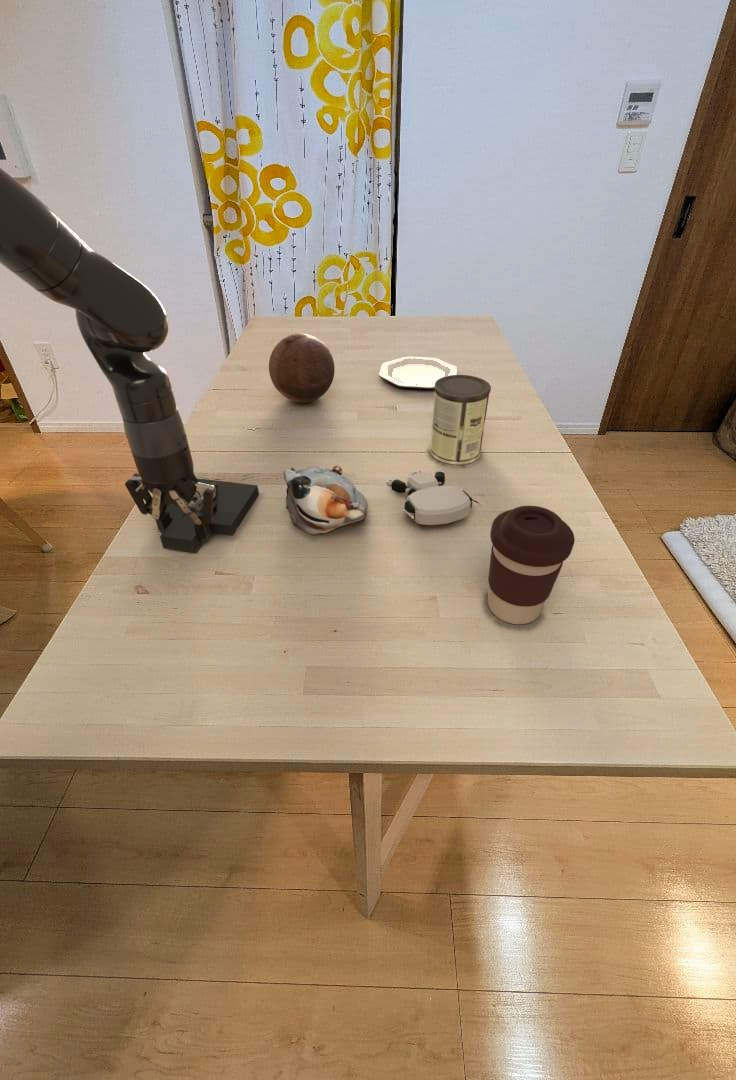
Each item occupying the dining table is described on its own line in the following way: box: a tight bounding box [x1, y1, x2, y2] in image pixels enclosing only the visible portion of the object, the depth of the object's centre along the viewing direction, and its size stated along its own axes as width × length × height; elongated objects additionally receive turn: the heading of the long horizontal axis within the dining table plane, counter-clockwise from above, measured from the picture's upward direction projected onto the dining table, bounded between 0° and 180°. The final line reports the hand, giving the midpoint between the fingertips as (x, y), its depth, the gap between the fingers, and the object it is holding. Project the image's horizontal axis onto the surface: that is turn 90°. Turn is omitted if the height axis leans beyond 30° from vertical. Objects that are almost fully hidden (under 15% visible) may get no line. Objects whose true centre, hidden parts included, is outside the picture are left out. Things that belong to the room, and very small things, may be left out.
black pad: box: [159, 510, 203, 553], centre depth 83 cm, size 5×8×2 cm, turn 169°
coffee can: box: [429, 374, 492, 466], centre depth 100 cm, size 10×10×14 cm
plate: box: [378, 356, 458, 390], centre depth 134 cm, size 20×20×2 cm
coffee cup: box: [487, 505, 575, 625], centre depth 67 cm, size 10×10×15 cm
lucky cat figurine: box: [282, 465, 368, 536], centre depth 83 cm, size 15×12×14 cm
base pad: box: [166, 477, 260, 536], centre depth 89 cm, size 13×12×2 cm
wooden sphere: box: [268, 333, 336, 403], centre depth 119 cm, size 15×15×15 cm
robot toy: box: [385, 470, 483, 526], centre depth 89 cm, size 12×4×15 cm
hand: (186, 536), depth 82 cm, fingers closed on black pad, 5 cm apart
